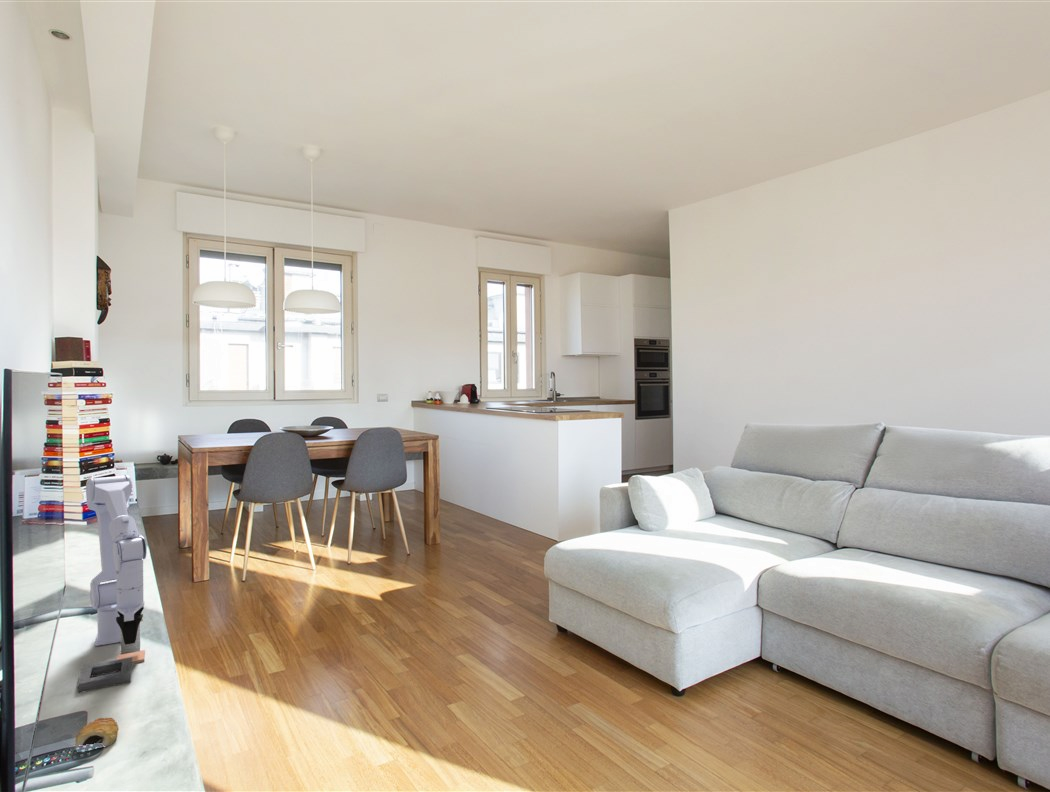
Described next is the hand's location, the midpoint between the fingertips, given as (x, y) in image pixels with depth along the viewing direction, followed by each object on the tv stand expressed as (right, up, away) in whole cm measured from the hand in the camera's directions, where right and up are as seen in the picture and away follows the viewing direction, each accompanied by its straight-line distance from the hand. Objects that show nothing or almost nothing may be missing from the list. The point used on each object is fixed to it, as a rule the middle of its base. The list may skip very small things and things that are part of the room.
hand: (130, 639), depth 157 cm
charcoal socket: (+1, -5, -10) cm, 11 cm away
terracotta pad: (0, -5, 0) cm, 5 cm away
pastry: (+16, -6, -35) cm, 39 cm away
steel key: (0, -3, 0) cm, 3 cm away
